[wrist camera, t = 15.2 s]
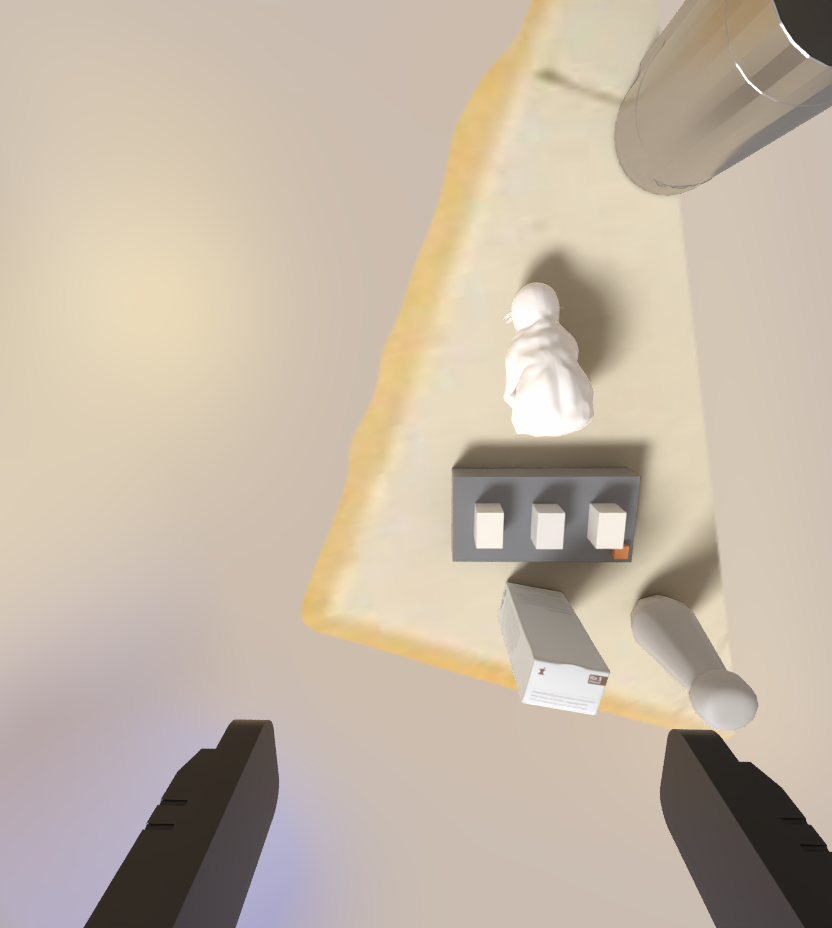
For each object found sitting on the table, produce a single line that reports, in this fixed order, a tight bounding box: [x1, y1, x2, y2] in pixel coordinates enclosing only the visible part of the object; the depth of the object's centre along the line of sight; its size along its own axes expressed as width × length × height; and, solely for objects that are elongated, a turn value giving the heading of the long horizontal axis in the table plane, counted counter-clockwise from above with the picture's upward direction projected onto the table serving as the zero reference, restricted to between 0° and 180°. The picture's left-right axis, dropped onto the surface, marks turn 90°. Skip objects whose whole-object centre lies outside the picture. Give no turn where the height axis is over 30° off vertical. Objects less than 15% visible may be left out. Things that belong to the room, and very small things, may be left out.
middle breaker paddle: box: [531, 504, 565, 549], centre depth 40 cm, size 3×2×2 cm
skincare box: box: [497, 582, 610, 715], centre depth 40 cm, size 6×4×12 cm
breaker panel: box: [452, 468, 641, 562], centre depth 41 cm, size 8×16×5 cm, turn 91°
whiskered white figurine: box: [503, 282, 594, 437], centre depth 37 cm, size 6×8×12 cm
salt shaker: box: [631, 594, 758, 731], centre depth 40 cm, size 6×6×13 cm
